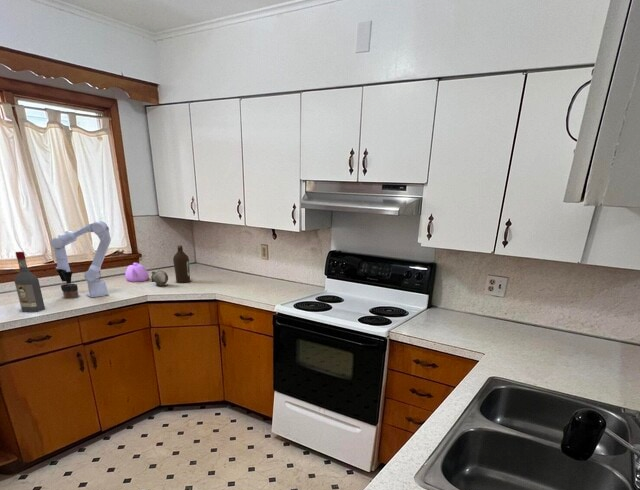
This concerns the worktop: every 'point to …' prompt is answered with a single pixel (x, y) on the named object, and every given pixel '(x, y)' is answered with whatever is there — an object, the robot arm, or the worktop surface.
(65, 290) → the rubber collar
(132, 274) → the teapot
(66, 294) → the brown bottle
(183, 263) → the olive oil
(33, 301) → the liquor
